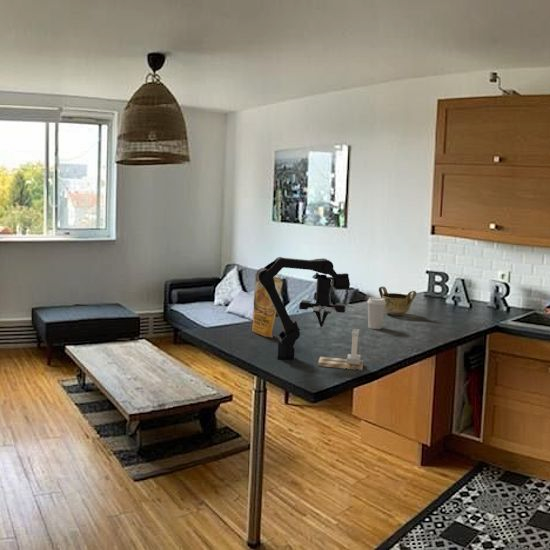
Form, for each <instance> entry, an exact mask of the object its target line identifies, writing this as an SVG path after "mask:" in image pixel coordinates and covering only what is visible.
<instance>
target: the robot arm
mask: <svg viewBox="0 0 550 550" xmlns="http://www.w3.org/2000/svg"><path fill="white" fill-rule="evenodd" d="M285 268H286V269H295V270H307V271H312V272H316V273H314V274H313V275H312V279H314V280H316V292H314V293H313V294H314V295H313V300H314V301H315V303H314V302H313V303H312V302H311V300H306V299H305V300H301V301H299V302H300V303H299V306H298V307H299V308H298V310H299V309H300V310H304V311H305V310H308V309H309V308H311V309H313V310H312V313H315V316H316V317H317V319H318V324H319V327H320V328H323V327H324V323H325V321H326V318H327V316H328V314H331V313H332V311H333V310H334V311H335V312H336V313H346V308H347V305H346V304H345V303H342V302H341V303H340V302H336V304H332V302H331V301H332V300H331V299H332V297H331V291H332V288H333V290H334V291H348V290H350V286H351V282H350V278H349V273H347V272H346V273H344V272H343V273H338V272H336V271H335V269H334V264H333V262H332V261H331V260H330V259H326V258H316V259H315V258H314V259H301V258H289V257H282V256H278V257H276V258H275V259H274V260H273V261H271V262H270V263H267V265H266V266H264V267H259V269H258V270H257V271H256V273H255V274H256V277H257V279H258V280H259V282H260V283H261V284H262V286H263V287H264V288H265V290H266V291H267V293H268V295H269V297H270V299H271V302H272V304H273V306H274V308H275V310H276V315H277V316H278V318H279V321H280V324H281V329H282V331H281V332H280V333H279V334H277V338H278V339H277V340H278V342H277V343H278V344H277V357H276V359H277V360H288V361H290V360H291V361H293V360H294V358H295V355H296V346H295V343H296V341H297V340H298V339H299V338H300V336H301V332H300V331H301V329H300V328H299V326H298V322H297V321H296V320H295V319H294V318H290V316H289V313H288V312H287V309H286V307H285V304H284V303H283V301H282V299H281V296H280V297H279V295H278V292H277V290H276V288H275V282H274V278H273V277H276V275H278V273H280V272H281V271H282V270H283V269H285ZM319 273H320V274H319ZM327 275H328V276H327ZM322 309H323V313H322Z"/></svg>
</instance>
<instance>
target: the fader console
mask: <svg viewBox="0 0 550 550" xmlns="http://www.w3.org/2000/svg"><path fill="white" fill-rule="evenodd" d="M317 366H318V367H325V368H326V367H327V368H328V367H329V368H337V369H346V368H347V369H349V370H356V369H358V370H357V371H359V370H360V371H363V370H362V369H363V368H364V360H361V359H360V364H359V365H357V364H347V358H339V357H327V356H320V357H319V358H318V363H317ZM347 369H346V370H347Z"/></svg>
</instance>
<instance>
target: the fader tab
mask: <svg viewBox="0 0 550 550" xmlns="http://www.w3.org/2000/svg"><path fill="white" fill-rule="evenodd" d="M359 334H360V329H359V328H352V331H351V337H352V338H351V351H350V352H351V353H347V357H346V359H347V364H357V365H359V364H360V360H361V354H358V344H359V343H358V342H359Z"/></svg>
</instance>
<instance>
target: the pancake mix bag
mask: <svg viewBox="0 0 550 550" xmlns="http://www.w3.org/2000/svg"><path fill="white" fill-rule="evenodd" d="M273 278H274V282H275V288H276V290H277V292H278V295H279V297H280V298H281V292H282V289H283V286H284V285H283V284H284V282H283V281H284V280H283V279H282V278H281V277H278V276H277V277H276V276H274V277H273ZM253 291H254V292H253V295H254V296H253V318H252V319H253V320H252V328H251V330H252V331H253V333H254V334H257V335H260V336H261V337H264V338H274V336H273V328H274V324H275V320H276V319H275V318H276V315H277V312H276V310H275V308H274V306H273V304H272V302H271V299H270V297H269V295H268V293H267V291H266V290H265V288H264V287H263V286H262V284H261V283H260V282H259V280H258V279H257V277H256V273H254V289H253ZM252 331H251V332H252Z"/></svg>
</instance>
